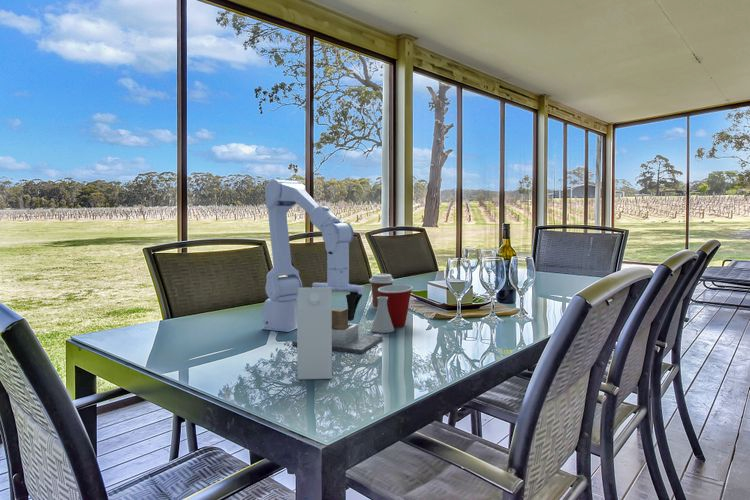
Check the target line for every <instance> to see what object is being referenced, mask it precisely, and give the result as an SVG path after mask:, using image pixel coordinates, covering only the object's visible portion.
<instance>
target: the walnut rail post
mask: <svg viewBox="0 0 750 500" xmlns="http://www.w3.org/2000/svg"><path fill="white" fill-rule="evenodd" d="M348 323H349V321H348V308H342V307H341V308H340V307H333V308H332V329H339V330H345V329H347V328H348Z"/></svg>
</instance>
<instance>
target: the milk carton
mask: <svg viewBox="0 0 750 500" xmlns="http://www.w3.org/2000/svg"><path fill="white" fill-rule="evenodd" d="M332 304H333V303H332V291H331V287H323V288H312V287H302V288H298V298H297V300H296V313H297V329H296V335H297V336H296V337H297V338H296V339H297V346H296V347H297V354H296V355H297V361H296V362H297V380H328V379H329V380H331V379H333V378H332V377H333V376H332V375H333V372H332V369H333V366H332V365H333V363H332V361H333V358H332V355H333V354H332V353H333V350H332V309H333V308H332Z"/></svg>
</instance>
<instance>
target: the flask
mask: <svg viewBox="0 0 750 500" xmlns="http://www.w3.org/2000/svg"><path fill="white" fill-rule="evenodd" d="M377 299H378V308H377V309H376V312H375V316H374V319H373V321H372V323H371V326H370V332H372V333H378V334H390V333H393V332H394V331H395V327H393V324H392V322H391V319H390V315H389V312H388V308H387V300H388V297H377Z"/></svg>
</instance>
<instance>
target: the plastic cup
mask: <svg viewBox="0 0 750 500" xmlns="http://www.w3.org/2000/svg"><path fill="white" fill-rule="evenodd" d="M413 288H414V287H413V286H412V285H410V284H392V285H389V286H384V287H380V288H378V291H379V293H380V295H381V297H388V300H387V308H388V312H389V315H390V319H391V322H392V324H393V327H394V328H402V327H405V325H406V322H407V316H408V313H409V307H410V298H411V294H412V290H413Z"/></svg>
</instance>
